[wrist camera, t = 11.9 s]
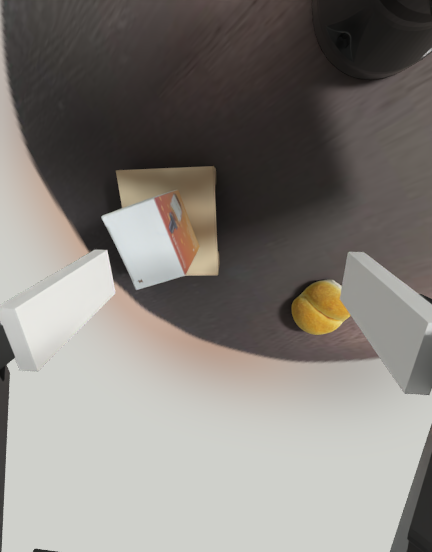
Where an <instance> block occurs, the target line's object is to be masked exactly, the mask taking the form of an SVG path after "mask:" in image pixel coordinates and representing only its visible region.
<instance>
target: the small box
mask: <svg viewBox="0 0 432 552" xmlns="http://www.w3.org/2000/svg"><path fill="white" fill-rule="evenodd" d="M101 218H102V220H103V222H104V224H105V226H106V227H107V229H108V231H109V233H110V235H111V237H112V239H113V241H114V243H115V245H116V247H117V250H118V252H119V254H120V256H121V258H122V260H123V262H124V264H125V266H126V268H127V270H128V272H129V275H130V277H131V279H132V282H133V284H134V286H135V289H136V290H138V289H142V288H145V287H148V286H152V285H155V284H158V283H162V282H165V281H168V280H172V279H175V278H179V277H182V276H185V275H186V273H187V271H188V269H189V267H190V265H191V264H192V262H193V260H194V258H195V256H196V254H197V252H198V250H199V248H200V246H199V244H198V241H197V239H196V236H195V234H194V231H193V229H192V226H191V223H190V220H189V217H188V215H187V212H186V209H185V206H184V204H183V201H182V198H181V196H180V193H179V190H174V191H170V192H167V193H164V194H161V195H158V196H155V197H152V198H149V199H146V200H144V201H141V202H138V203H135V204H132V205H130V206H127V207H124V208H121V209H119V210H116V211H113V212H111V213H108V214H105V215H103V216H102V217H101Z"/></svg>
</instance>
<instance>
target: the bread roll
mask: <svg viewBox="0 0 432 552" xmlns="http://www.w3.org/2000/svg"><path fill="white" fill-rule="evenodd" d="M341 289H342V286H341V285H340V284H338V283H336V282H335V281H334V280H331V279H330V280H323V281H317V282H315V283H313V284H311V285H310V286H308V287H307V288H306V289H305V290H304V291H303V292H302V293H301V294H300V295H299V296H298V297H297V298H296V299H295V300H294V301H293V303H292V316H293V319H294V321H295V322H296V324H297V325H298V326H299V327H300V328H301V329H302V330H304V331H305V332H307V333H310V334H315V335H320V334H326V333H330V332H332V331H334V330H336V329H337V328H338V327H339V326H340V325H341V324H342V323H343V321H345V320H346V319H347V318H349V317H350V313H349V312H348V310H347V309H346V307H345V306H344V305H343V303H342V302H341V300H340V295H341Z"/></svg>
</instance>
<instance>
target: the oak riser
mask: <svg viewBox="0 0 432 552" xmlns="http://www.w3.org/2000/svg"><path fill="white" fill-rule="evenodd" d="M116 175H117V181H118V186H119V192H120V198H121V204H122V208H124V207H127V206H130V205H132V204H135V203H138V202H141V201H144V200H146V199H149V198H152V197H155V196H158V195H161V194H164V193H167V192H170V191H174V190H179V193H180V196H181V198H182V201H183V204H184V206H185V209H186V212H187V215H188V217H189V220H190V223H191V226H192V229H193V231H194V234H195V236H196V239H197V241H198V244H199V246H200V248H199V250H198V252H197V254H196V256H195V258H194V260H193V262H192V264H191V265H190V267H189V269H188V271H187V273H186V275H185V276H190V275H218V269H219V252H218V250H217V224H216V199H215V184H216V168H214V166H206V167H183V168H160V169H137V170H116Z"/></svg>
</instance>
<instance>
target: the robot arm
mask: <svg viewBox="0 0 432 552" xmlns="http://www.w3.org/2000/svg"><path fill="white" fill-rule="evenodd" d="M312 15H313V24H314V29H315V33H316V37H317V40H318V42H319V45H320V47H321V49H322V51H323V52H324V54H325V55H326V57H327V58H328V60H329V61H330V62H331V63H332V64H333V65H334V66H335V67H336V68H338V69H339V70H340V71H342V72H344V73H345V74H347V75H350V76H352V77H356V78H360V79H380V78H385V77H389V76H392V75H394V74H397V73H399V72H401V71H403V70H405V69H407V68H408V67H410V66H412V65H414V64H415V63H417V62H419V61H420V60H422V59H423V58H425V57H426V56H427V55H429V54H430V53H431V52H432V0H312ZM114 294H115V287H114V282H113V277H112V272H111V267H110V261H109V256H108V251H107V250H93V251H92V252H90V253H88V254H86V255H85V256H83V257H81V258H80V259H78V260H76V261H74V262H73V263H71V264H69V265H68V266H66V267H64V268H62V269H61V270H59V271H57V272H56V273H54V274H52V275H50V276H49V277H47V278H45V279H44V280H42V281H40V282H38V283H37V284H35V285H33V286H32V287H30V288H28V289H27V290H25V291H23V292H21V293H19V294H18V295H16V296H14V297H13V298H11V299H9V300H7V301H6V302H4V303H2V304H1V305H0V552H1V548H2V527H3V506H4V483H5V464H6V442H7V420H8V399H9V379H10V372H9V370H8V367H7V364H8V363H9V362H10V361H11V360H12V359H14V358H15V360H16V363H17V365H18V368H19V370H22V371H39V370H40V369H41V368H42V367H43V366H44V365H45V364H46V363H47V362H48V361H49V360H50V359H51V358H52V357H53V356H54V355H55V354H56V353H57V352H58V351H59V350H60V349H61V348H62V347H63V346H64V345H65V344H66V343H67V341H69V340H70V339H71V337H73V336H74V335H75V334H76V332H78V331H79V330H80V329H81V328H82V327H83V326H84V325H85V324H86V323H87V322H88V320H89V319H90V318H91V317H92V316H93V315H94V314H95V313H96V312H97V311H98V310H99V309H100V308H101V307H102V306H103V305H104V304H105V303H106V302H107V301H108V300H109V299H110V298H111V297H112V296H113V295H114ZM340 300H341V302H342V303H343V305H344V306H345V307H346V309H347V310H348V312H349V313H350V315H351V316H352V318H353V319H354V321H355V322H356V324H357V325H358V326H359V328H360V329H361V331H362V332H363V334H364V335H365V337H366V338H367V340H368V341H369V343H370V344H371V345H372V347H373V348H374V350H375V351H376V353H377V354H378V356H379V357H380V359H381V360H382V362H383V363H384V364H385V366H386V367H387V369H388V370H389V372H390V373H391V374H392V376H393V378H394V379H395V380H396V382H397V383H398V385H399V386H400V388H401V389H402V391H403V392H404V393H405V394H421V395H429V394H430V392H431V389H432V299H431V298H428V297H426V296H424V295H422V294H418V293H416V292H415V291H414V290H412V289H411V288H410V287H409V286H407V285H406V284H405V283H403V282H402V281H401V280H399V279H398V278H397V277H396V276H394V275H393V274H392V273H390V272H389V271H388V270H386V269H385V268H384V267H382V266H381V265H380V264H379V263H377V262H376V261H375V260H373V259H372V258H371V257H369V256H368V255H367V254H366V253H364V252H348V255H347V261H346V267H345V272H344V278H343V283H342V289H341V295H340ZM33 552H55V551H48V550H41V549H34V550H33ZM390 552H432V425H431V428H430V431H429V434H428V437H427V441H426V443H425V446H424V449H423V452H422V455H421V458H420V461H419V465H418V468H417V471H416V474H415V477H414V480H413V483H412V486H411V489H410V492H409V495H408V498H407V501H406V504H405V507H404V510H403V513H402V516H401V519H400V522H399V526H398V529H397V532H396V535H395V538H394V541H393V544H392V547H391V550H390Z"/></svg>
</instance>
